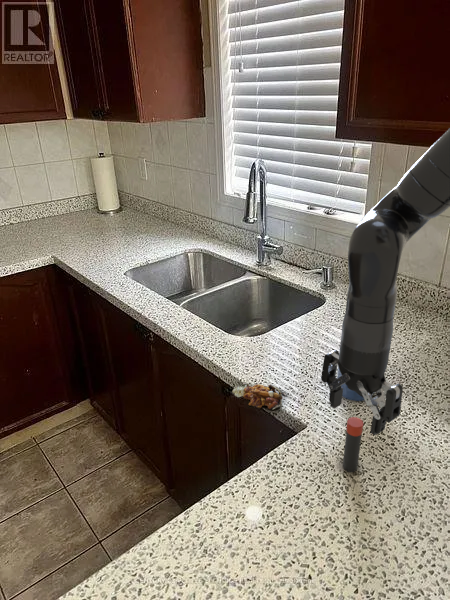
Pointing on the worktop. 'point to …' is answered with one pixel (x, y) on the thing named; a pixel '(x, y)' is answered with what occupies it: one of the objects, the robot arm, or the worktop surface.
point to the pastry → (260, 395)
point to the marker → (352, 444)
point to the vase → (347, 392)
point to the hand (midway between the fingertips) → (354, 418)
